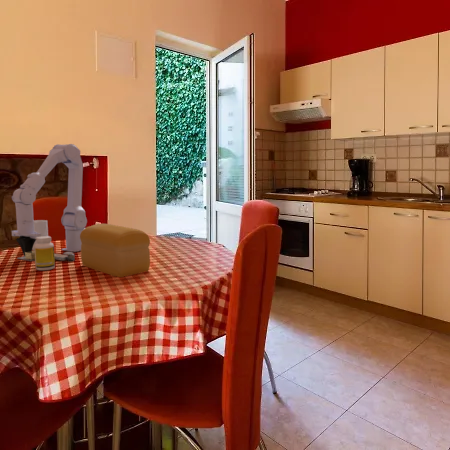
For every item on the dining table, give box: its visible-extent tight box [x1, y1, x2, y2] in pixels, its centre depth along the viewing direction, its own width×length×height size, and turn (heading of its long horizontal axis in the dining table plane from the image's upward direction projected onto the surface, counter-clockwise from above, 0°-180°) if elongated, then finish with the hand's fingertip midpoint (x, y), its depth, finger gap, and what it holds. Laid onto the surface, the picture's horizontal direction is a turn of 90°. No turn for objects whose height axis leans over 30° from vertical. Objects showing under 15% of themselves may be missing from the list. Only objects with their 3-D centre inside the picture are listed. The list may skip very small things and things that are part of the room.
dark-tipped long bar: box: [54, 252, 76, 263], centre depth 153 cm, size 3×18×2 cm, turn 61°
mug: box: [32, 219, 49, 251], centre depth 171 cm, size 10×7×12 cm, turn 4°
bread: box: [80, 223, 151, 278], centre depth 138 cm, size 24×13×15 cm, turn 48°
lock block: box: [25, 250, 35, 260], centre depth 150 cm, size 4×4×2 cm
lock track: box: [17, 255, 35, 262], centre depth 151 cm, size 4×8×1 cm, turn 62°
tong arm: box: [54, 251, 74, 262], centre depth 151 cm, size 3×17×3 cm, turn 64°
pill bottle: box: [33, 235, 56, 271], centre depth 136 cm, size 6×6×11 cm
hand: (27, 255), depth 151 cm, fingers closed
